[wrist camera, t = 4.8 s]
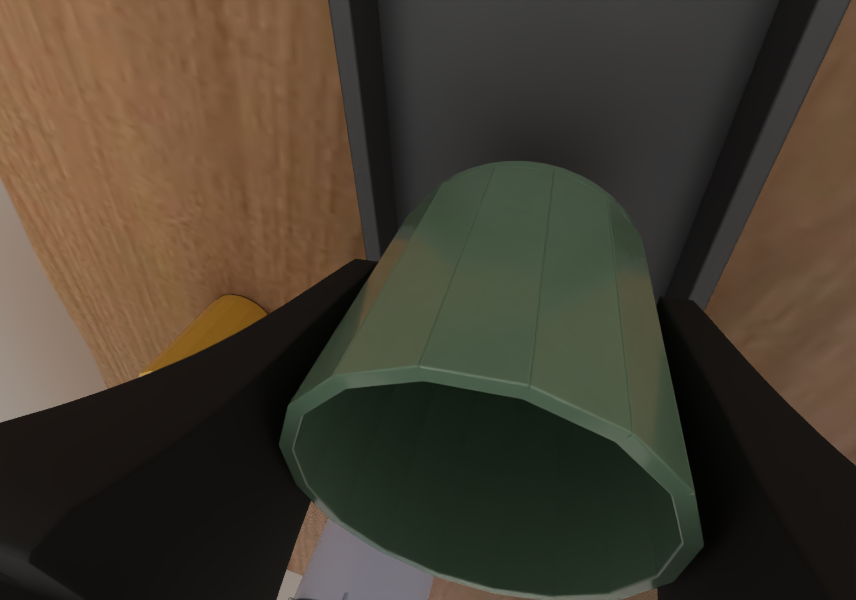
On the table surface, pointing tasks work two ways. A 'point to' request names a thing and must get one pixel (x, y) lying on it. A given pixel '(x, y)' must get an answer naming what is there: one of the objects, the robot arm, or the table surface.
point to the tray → (583, 107)
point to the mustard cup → (209, 329)
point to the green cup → (505, 397)
